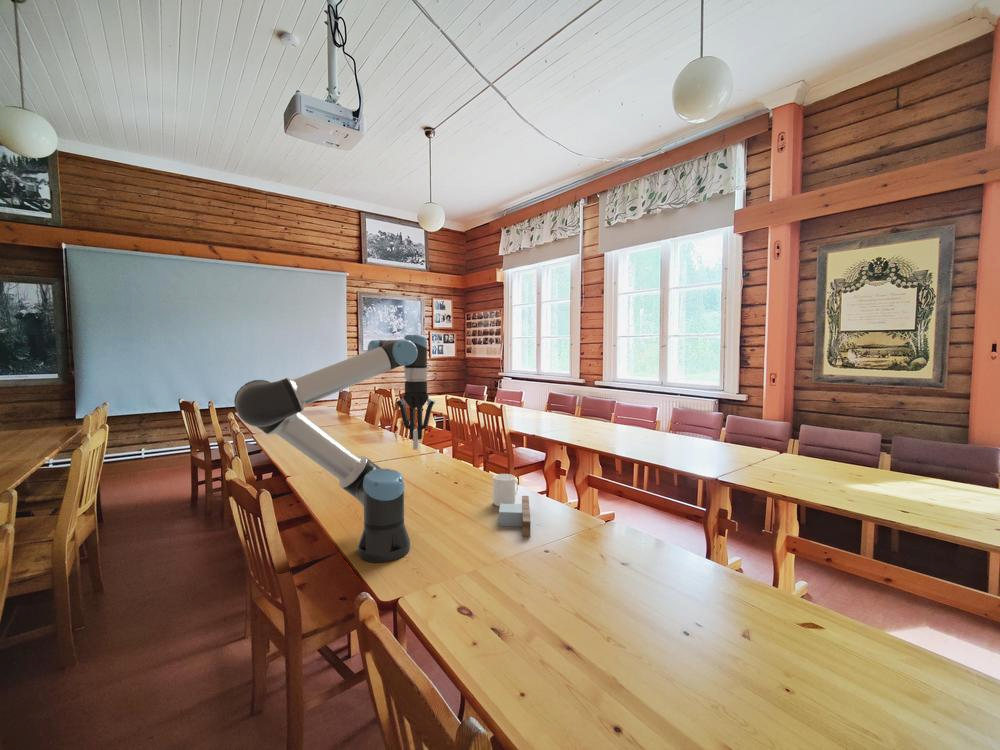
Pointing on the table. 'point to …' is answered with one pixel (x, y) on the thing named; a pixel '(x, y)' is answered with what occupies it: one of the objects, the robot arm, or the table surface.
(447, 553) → the table surface
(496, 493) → the mug
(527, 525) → the board
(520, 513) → the block
